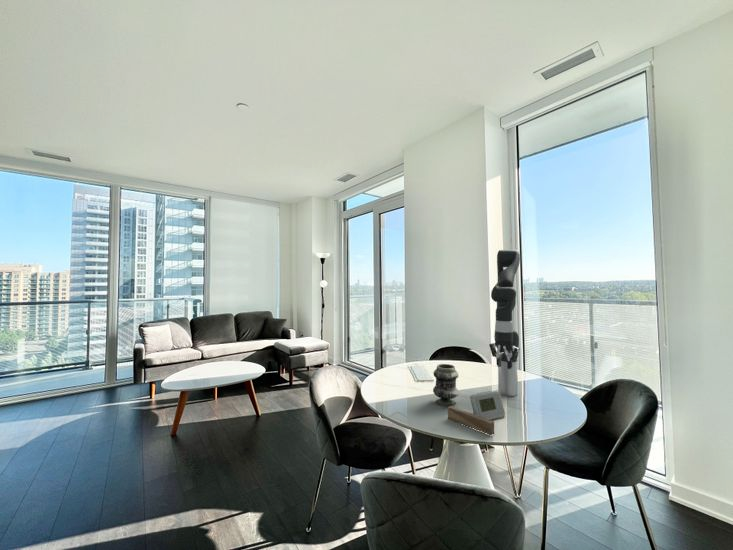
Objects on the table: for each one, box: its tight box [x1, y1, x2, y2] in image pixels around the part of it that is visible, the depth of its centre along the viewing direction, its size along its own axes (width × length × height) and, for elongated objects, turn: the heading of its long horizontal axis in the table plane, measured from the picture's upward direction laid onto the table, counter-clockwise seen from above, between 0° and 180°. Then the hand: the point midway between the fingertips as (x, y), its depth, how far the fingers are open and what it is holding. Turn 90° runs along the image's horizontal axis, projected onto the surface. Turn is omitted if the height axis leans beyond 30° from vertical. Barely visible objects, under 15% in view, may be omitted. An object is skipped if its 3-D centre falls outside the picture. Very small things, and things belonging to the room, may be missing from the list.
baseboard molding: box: [408, 363, 435, 382], centre depth 207 cm, size 31×3×12 cm
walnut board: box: [447, 406, 495, 435], centre depth 134 cm, size 2×20×5 cm, turn 39°
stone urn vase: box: [432, 363, 460, 408], centre depth 159 cm, size 12×12×18 cm
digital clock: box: [470, 389, 506, 421], centre depth 142 cm, size 16×9×11 cm, turn 102°
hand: (504, 367), depth 151 cm, fingers open, 4 cm apart
